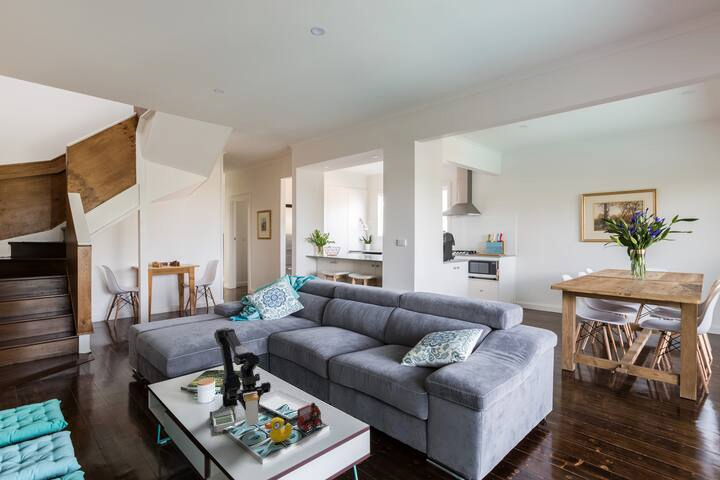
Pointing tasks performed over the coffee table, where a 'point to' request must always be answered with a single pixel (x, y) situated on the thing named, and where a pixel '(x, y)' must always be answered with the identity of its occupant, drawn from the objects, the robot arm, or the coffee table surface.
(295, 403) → the tray
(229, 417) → the small digital clock
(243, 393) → the robot arm
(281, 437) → the duckling
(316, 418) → the toy fire truck
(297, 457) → the coffee table surface
